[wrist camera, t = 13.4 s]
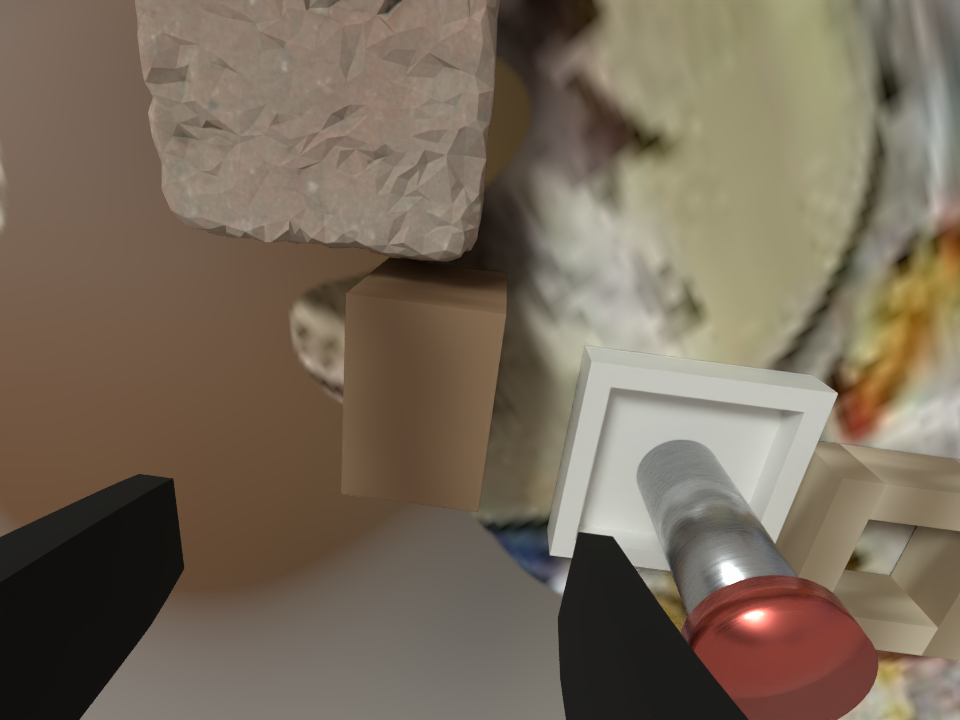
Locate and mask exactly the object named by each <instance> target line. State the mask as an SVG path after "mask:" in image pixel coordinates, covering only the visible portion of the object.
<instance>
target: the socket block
mask: <svg viewBox="0 0 960 720" xmlns="http://www.w3.org/2000/svg"><path fill="white" fill-rule="evenodd" d="M869 519H871V520H879V521H886V522H894V523H901V524H909V525H917V528H916V529H915V531H914V533H913V535H912V537H911V539H910V541H909V542H908V544H907V546H906V548H905V550H904V552H903V554H902V555H901V557H900V559H899V561H898V563H897V565H896V567H895V568H894V570H893V572H892V574H891V576H888V575H880V574H873V573H865V572H858V571H850V570H844V569H845V567H846V565H847V563H848V561H849V559H850V556H851V554H852V552H853V550H854V548H855V546H856V544H857V542H858V540H859V538H860V536H861V534H862V532H863V530H864V528H865V526H866V524H867V522H868V520H869ZM775 544H776V545H777V547H778V548H779V550H780V551H781V553H782V554H783V556H784V557H785V559H786V560H787V561H788V563H789V564H790V566H791V567H792V569H793V570H794V572H795V573H796V575H797V576H798V577H799V578H804V579H807V580H810V581H813V582H816V583H818V584H820V585H822V586H824V587H826V588H827V589H829V590H830V591H831V592H833V593H834V594H835V595H836V596H837V597H838V598H839V599H840V600H841V602H842V603H843V604H844V606H845V607H846V608H847V610H848V611H849V612H850V614H851V615H852V616H853V618H854V619H855V620H856V622H857V623H858V624H859V626H860V627H861V628H862V630H863V631H864V632H865V634H866V635H867V636H868V638H869V639H870V641H871V642H872V643H873V645H874V648H875V649H876V650H883V651H891V652H899V653H906V654H914V655H921V656H929V657H936V658H944V659H952V660H960V460H959V459H951V458H944V457H936V456H928V455H921V454H913V453H905V452H898V451H890V450H882V449H875V448H867V447H859V446H852V445H844V444H836V443H829V442H821V441H818V443H817V445H816V447H815V450H814V452H813V455H812V457H811V459H810V462H809V464H808V467H807V469H806V471H805V474H804V476H803V479H802V481H801V483H800V486H799V488H798V491H797V493H796V495H795V498H794V500H793V502H792V505H791V507H790V510H789V512H788V514H787V517H786V519H785V522H784V524H783V526H782V529H781V531H780V534H779V536H778V538H777V541H776V543H775Z"/></svg>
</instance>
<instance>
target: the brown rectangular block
mask: <svg viewBox="0 0 960 720" xmlns="http://www.w3.org/2000/svg"><path fill="white" fill-rule="evenodd" d="M506 308H507V273H503V272H495V271H488V270H480V269H472V268H464V267H457V266H449V265H441V264H433V263H426V262H418V261H410V260H402V259H396V258H391V257H389V258H388V259H387V260H386V261H385V262H383V263H382V264H381V265H380V266H379V267H377V268H376V269H375V270H374V271H372V272H371V273H370V274H369V275H368V276H366V277H365V278H364V279H363V280H362V281H360V282H359V283H358V284H357V285H356V286H354V287H353V288H352V289H351V290H349V291H348V292H347V293H346V308H345V353H344V398H343V443H342V488H341V489H342V490H341V494H345V495H352V496H361V497H367V498H375V499H382V500H390V501H398V502H405V503H413V504H420V505H428V506H436V507H443V508H451V509H459V510H466V511H474V512H478V509H479V502H480V495H481V488H482V481H483V474H484V467H485V460H486V453H487V446H488V439H489V432H490V425H491V418H492V411H493V404H494V397H495V390H496V383H497V376H498V369H499V362H500V355H501V349H502V342H503V335H504V328H505V321H506Z"/></svg>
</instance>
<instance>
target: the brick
mask: <svg viewBox="0 0 960 720" xmlns="http://www.w3.org/2000/svg"><path fill="white" fill-rule="evenodd" d="M499 6H500V0H135V7H136V13H137V19H138V44H139V51H140V59H141V66H142V73H143V76H144V81H145V83H146V85H147V87H148V89H149V90H150V92H151V94H152V95H153V99H152V102H151V105H150V109H149V112H148V115H149V121H150V126H151V132H152V137H153V140H154V143H155V146H156V149H157V151H158V154H159V156H160V159H161V162H162V191H163V193H164V195H165V198H166V200H167V202H168V204H169V206H170V209H171V211H172V212H173V213H174V214H175V215H176V216H177V217H178V218H179V219H180V220H181V221H182V222H183V223H185V224H186V225H187V226H189V227H191V228H196V229H201V230H205V231H207V232H209V233H213V234H216V235H220V236H226V237H233V238H253V239H257V240H260V241H264V242H279V241H289V242H293V243H303V242H305V243H316V244H323V245H325V246H328V247H330V248H348V247H356V248H361V249H367V250H369V251H371V252H374V253H377V254H382V255H387V256H390V257H406V258H410V259H416V260H431V261H444V262H448V261H451V260H454V259H457V258H460V257H461V256H462V254H463V253H464V252H466V251H471V249H472V247H473V245H474V244H475V242H476V240H477V237H478V230H479V225H480V222H481V215H482V207H483V201H484V196H483V194H484V188H485V173H486V165H487V144H488V135H489V126H490V120H491V116H492V111H493V99H494V86H495V72H496V53H497V18H498V12H499Z"/></svg>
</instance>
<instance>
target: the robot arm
mask: <svg viewBox="0 0 960 720" xmlns="http://www.w3.org/2000/svg"><path fill="white" fill-rule="evenodd" d="M183 570H184V563H183V554H182V546H181V538H180V530H179V522H178V513H177V505H176V497H175V489H174V481H173V478H165V477H157V476H150V475H142V474H138V475H136V476H133V477H131V478H128V479H126V480H123V481H121V482H119V483H116V484H114V485H112V486H109V487H107V488H105V489H103V490H100V491H98V492H96V493H94V494H92V495H90V496H87V497H85V498H83V499H81V500H79V501H77V502H74V503H72V504H70V505H68V506H66V507H64V508H62V509H60V510H58V511H55V512H53V513H51V514H49V515H47V516H45V517H42V518H40V519H38V520H36V521H34V522H32V523H30V524H28V525H25V526H23V527H21V528H19V529H17V530H14V531H12V532H10V533H8V534H6V535H4V536H2V537H0V720H80V718H81V717H82V716H83V714H84V713H85V712H86V710H87V709H88V708H89V706H90V705H91V704H92V703H93V701H94V700H95V699H96V697H97V696H98V695H99V693H100V692H101V691H102V689H103V688H104V687H105V685H106V684H107V683H108V682H109V680H110V679H111V678H112V676H113V675H114V674H115V672H116V671H117V670H118V668H119V667H120V666H121V665H122V663H123V662H124V661H125V659H126V658H127V656H128V655H129V654H130V653H131V651H132V650H133V649H134V647H135V646H136V645H137V643H138V642H139V641H140V639H141V638H142V636H143V635H144V634H145V632H146V631H147V630H148V628H149V627H150V626H151V624H152V622H153V621H154V619H155V618H156V616H157V614H158V613H159V611H160V609H161V608H162V606H163V605H164V603H165V601H166V600H167V598H168V596H169V594H170V593H171V591H172V589H173V587H174V586H175V584H176V582H177V580H178V578H179V577H180V575H181V573H182V571H183ZM558 634H559V635H558V636H559V661H560V680H561V687H562V695H563V702H564V708H565V716H566V720H749V719H748V718H747V717H746V716H745V714H744V713H743V712H742V711H741V710H740V708H739V707H738V706H737V705H736V703H735V702H734V701H733V700H732V699H731V697H730V696H729V695H728V694H727V692H726V691H725V690H724V689H723V687H722V686H721V685H720V684H719V683H718V681H717V680H716V679H715V678H714V676H713V675H712V674H711V673H710V671H709V670H708V669H707V667H706V666H705V665H704V663H703V662H702V661H701V660H700V658H699V657H698V656H697V654H696V653H695V652H694V650H693V649H692V648H691V646H690V645H689V644H688V642H687V641H686V640H685V638H684V637H683V636H682V634H681V633H680V632H679V630H678V629H677V627H676V626H675V625H674V623H673V622H672V621H671V619H670V618H669V617H668V615H667V614H666V612H665V611H664V610H663V608H662V607H661V605H660V604H659V603H658V601H657V600H656V598H655V597H654V595H653V594H652V593H651V591H650V590H649V588H648V587H647V585H646V584H645V582H644V581H643V579H642V578H641V577H640V575H639V574H638V572H637V571H636V569H635V568H634V566H633V565H632V563H631V562H630V560H629V559H628V557H627V556H626V554H625V553H624V551H623V550H622V549H621V547H620V546H619V544H618V543H617V541H616V540H615V539H614V537H613V536H606V535H599V534H591V533H584V532H578V535H577V539H576V543H575V548H574V552H573V556H572V560H571V565H570V569H569V573H568V577H567V582H566V586H565V590H564V594H563V599H562V603H561V607H560V611H559V616H558Z"/></svg>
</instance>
